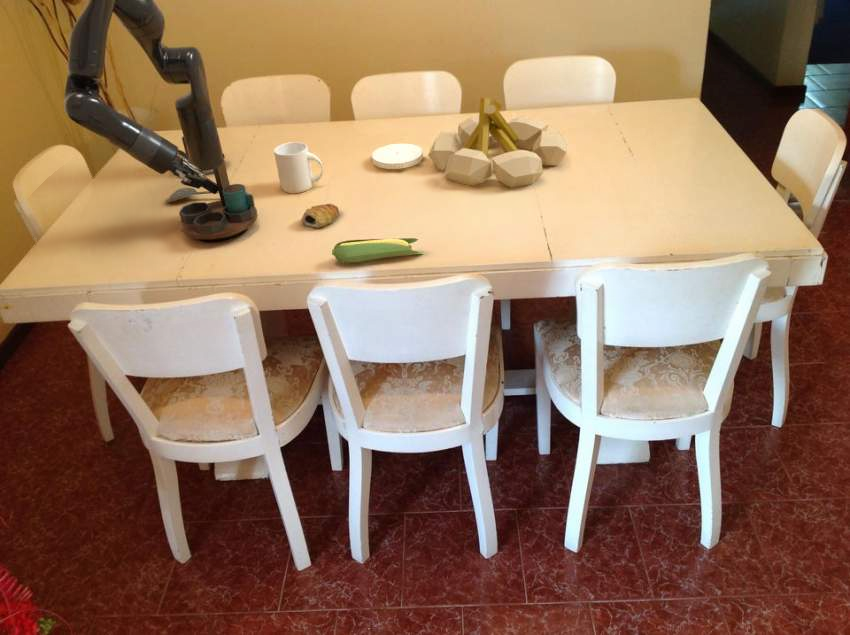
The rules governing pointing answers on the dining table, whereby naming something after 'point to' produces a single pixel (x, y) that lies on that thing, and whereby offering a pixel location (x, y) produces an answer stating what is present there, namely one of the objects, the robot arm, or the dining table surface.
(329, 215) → the pastry
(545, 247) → the dining table surface
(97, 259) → the dining table surface
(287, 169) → the mug
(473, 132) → the campfire
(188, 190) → the soupspoon
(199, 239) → the carousel base
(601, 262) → the dining table surface
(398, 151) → the plastic lid
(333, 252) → the edible corn
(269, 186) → the dining table surface
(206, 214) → the cup holder
